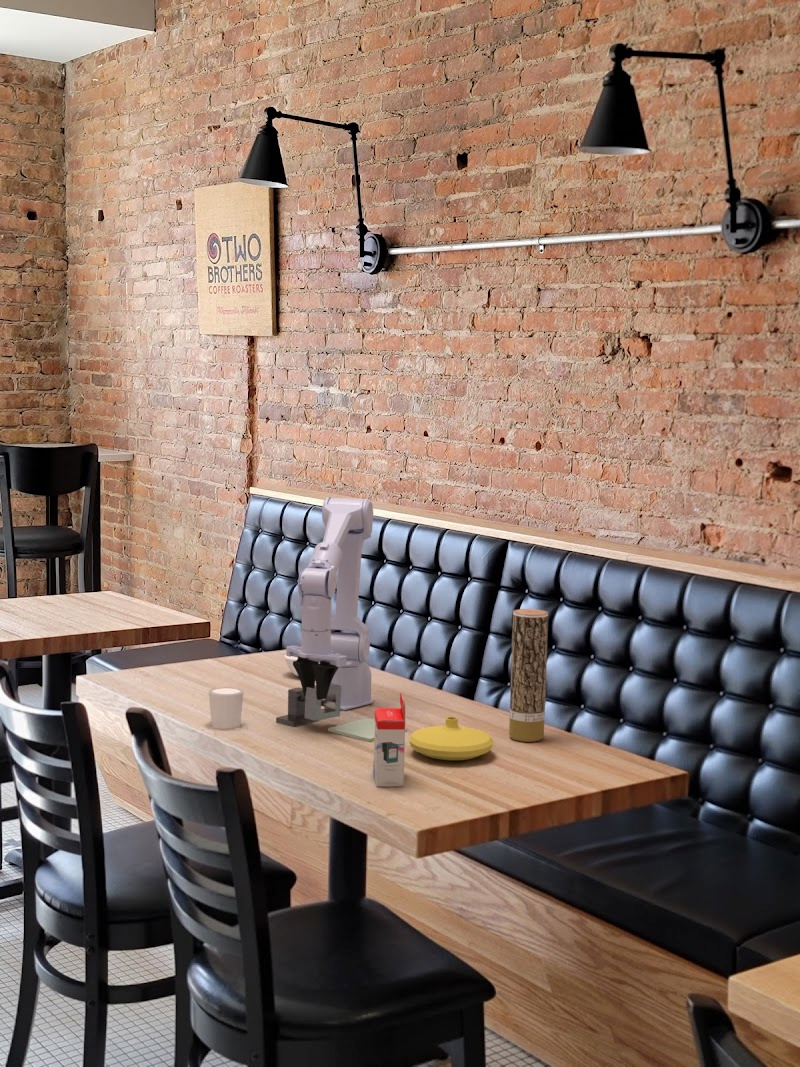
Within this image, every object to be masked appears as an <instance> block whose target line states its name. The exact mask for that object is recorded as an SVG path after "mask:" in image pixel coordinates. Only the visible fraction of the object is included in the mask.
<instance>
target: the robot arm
mask: <svg viewBox="0 0 800 1067" xmlns="http://www.w3.org/2000/svg"><path fill="white" fill-rule="evenodd" d="M321 519H322V523H323V525H324V527H325V530H324V535H323V539H322V541H321V542H318V543H317V544H316V545H315V547H314V550H313V552H312V554H311V556H310V558H309V559H310V560H309V562H308V565H307V567H305V568H304V569H301V571H299V575H298V579H297V580H298V582H297V588H298V589H297V590H298V595H299V606H301V646H299V645H287V646H286V652H285V655H286V656H289V657H291V656H294V657H298V659H297V661H293V666H294V668H295V669H296V671H297V673H298V676H297V677H298V678H299V681H300V685H301V688H302V689H303V694H304V696H305V697H306V687H308V686H315V685H316V695H317V699H318V700H324V701H325V699H326V698H327V695H328V691H329V687H330V684H331V683H332V684H337V685H341V704H340V711H342V710H343V711H347V710H351V709H352V710H353V709H356V708H359V707H363V706H367V705H371V704H374V702H375V700H372V670H371V668H370V666H369V664H368V663H366V661H367V660H368V659H369V656H370V650H371V649H370V648H371V647H370V646H371V644H370V643H371V642H370V629H369V627H368V625H366V624H365V623H364V622H363V621H362V620H361V619H359V617H358V610H359V608H358V606H359V597H360V596H359V593H360V582H361V581H360V580H361V579H360V578H361V566H362V565H361V564H362V553H363V552H362V551H363V545H364V542H365V540H368V539H370V538H371V537H372V532H373V525H374V524H373V523H374V522H373V521H374V506H373V503H372V501H371V499H370V498H346V497H329V496H327V497H326V498H325V499H324V501H323V503H322V509H321ZM335 593H336V596H335V597H336V598H335V610H334V611H335V613H334V617H332V599H333V597H334V595H335ZM340 631H341V632H340ZM342 631H350V632H342ZM351 631H352V632H353V633H352V632H351ZM355 632H356V633H355ZM319 662H320V664H318V663H319Z"/></svg>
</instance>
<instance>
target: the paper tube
mask: <svg viewBox="0 0 800 1067" xmlns="http://www.w3.org/2000/svg"><path fill="white" fill-rule="evenodd" d="M511 630H512V632H511V633H512V634H511V662H510V664H511V665H510V690H509V692H510V695H509V726H508V727H509V729H508V735H509V737H510V738H511V739H512V740H514V741H518V742H522V743H523V742H525V743H533V742H539V741H542V740H543V738H544V735H545V716H546V693H547V692H546V691H547V690H546V688H547V667H548V666H547V663H548V662H547V660H548V658H547V657H548V636H549V635H548V634H549V633H548V631H549V612H548V611H546V610H544V609H543V610H542V609H537V608H519V609H518V608H517V609H514V610H513V611H512V629H511Z"/></svg>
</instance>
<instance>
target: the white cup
mask: <svg viewBox="0 0 800 1067" xmlns="http://www.w3.org/2000/svg"><path fill="white" fill-rule="evenodd" d="M244 694H245V693H244V690H243V689H242V688H236V687H225V686H224V687H216V688H212V689H210V690H209V691H208V697H209V700H208V701H209V710H210V720H211V726H212V728H215V729H220V730H229V729H236V728H238V727H240V726H241V720H242V713H243V702H244Z"/></svg>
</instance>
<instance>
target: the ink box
mask: <svg viewBox="0 0 800 1067" xmlns="http://www.w3.org/2000/svg"><path fill="white" fill-rule="evenodd" d="M399 703H400V704H399V705H400V708H398V707H378V708H377V707H376V708H375V709H374V720H375V734H374V741H373V744H374V745H373V767H372V769H373V770H372V772H373V778H374V781H375V786H376V788H377V787H378V788H380V787H384V788H386V787H387V788H388V787H389V788H390V787H391V788H397V787H404V785H405V746H406V741H405V740H406V732H405V728H406V704H405V700H404V697H403V694H402V692H399Z"/></svg>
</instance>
